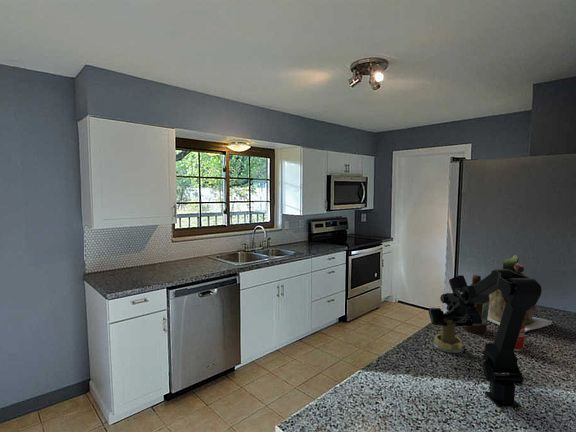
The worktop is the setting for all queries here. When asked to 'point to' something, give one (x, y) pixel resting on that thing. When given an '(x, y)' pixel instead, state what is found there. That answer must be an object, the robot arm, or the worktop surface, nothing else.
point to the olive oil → (483, 312)
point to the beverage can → (520, 339)
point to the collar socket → (448, 345)
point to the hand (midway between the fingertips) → (447, 325)
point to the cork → (449, 333)
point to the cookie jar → (499, 303)
